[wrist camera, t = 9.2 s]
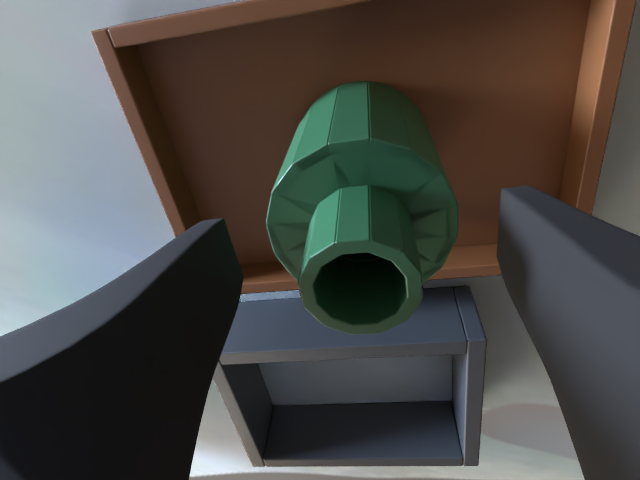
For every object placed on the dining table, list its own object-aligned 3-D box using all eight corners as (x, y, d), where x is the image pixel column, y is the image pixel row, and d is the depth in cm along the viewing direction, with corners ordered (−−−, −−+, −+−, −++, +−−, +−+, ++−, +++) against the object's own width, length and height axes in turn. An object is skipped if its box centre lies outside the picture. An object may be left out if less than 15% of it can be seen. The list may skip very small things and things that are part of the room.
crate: (264, 413, 27) (252, 467, 24) (221, 302, 22) (200, 354, 19) (465, 408, 25) (478, 466, 22) (469, 285, 20) (487, 339, 17)
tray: (213, 271, 21) (200, 297, 19) (119, 24, 15) (88, 31, 13) (561, 241, 18) (580, 269, 17) (614, -72, 12) (653, -77, 11)
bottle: (309, 212, 18) (273, 372, 11) (284, 91, 15) (216, 201, 8) (430, 199, 17) (476, 364, 10) (426, 69, 14) (487, 171, 7)
